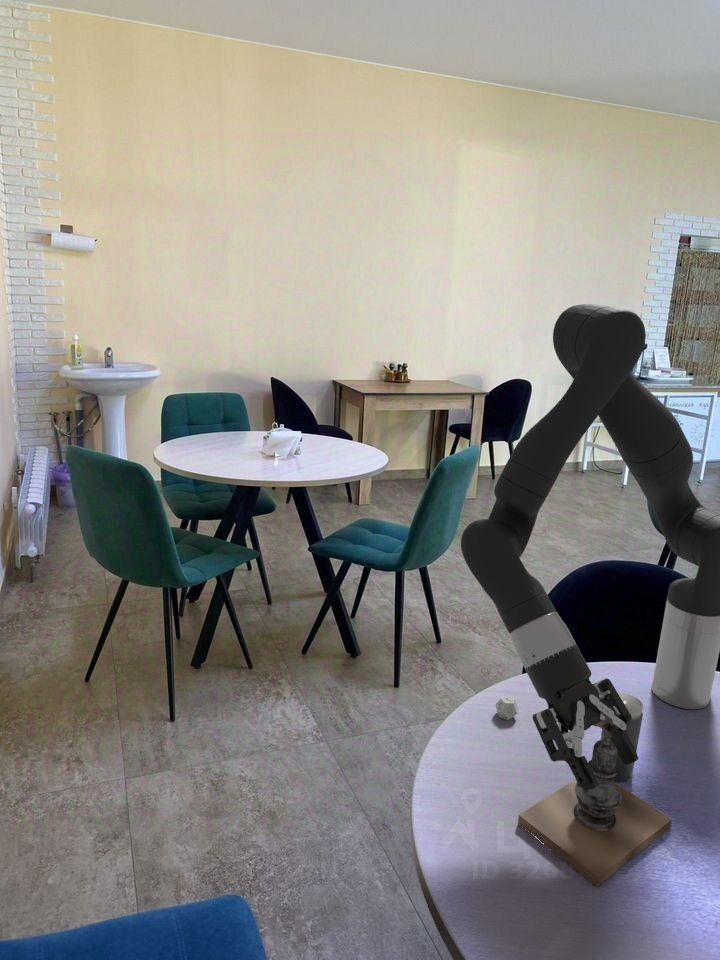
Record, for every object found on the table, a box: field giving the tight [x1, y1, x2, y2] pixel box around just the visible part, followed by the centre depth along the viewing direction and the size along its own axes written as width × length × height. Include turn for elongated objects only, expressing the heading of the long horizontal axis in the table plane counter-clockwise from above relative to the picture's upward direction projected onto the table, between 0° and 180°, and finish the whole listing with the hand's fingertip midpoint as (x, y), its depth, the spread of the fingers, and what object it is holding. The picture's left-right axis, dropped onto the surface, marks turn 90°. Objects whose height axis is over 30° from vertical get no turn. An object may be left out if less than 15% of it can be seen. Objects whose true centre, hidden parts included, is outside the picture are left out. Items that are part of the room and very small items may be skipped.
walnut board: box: [517, 779, 673, 888], centre depth 92 cm, size 16×12×2 cm
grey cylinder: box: [599, 692, 644, 783], centre depth 102 cm, size 5×5×11 cm
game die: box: [495, 695, 519, 721], centre depth 115 cm, size 4×4×3 cm
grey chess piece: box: [574, 737, 622, 831], centre depth 91 cm, size 6×6×12 cm
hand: (612, 775), depth 89 cm, fingers open, 8 cm apart
